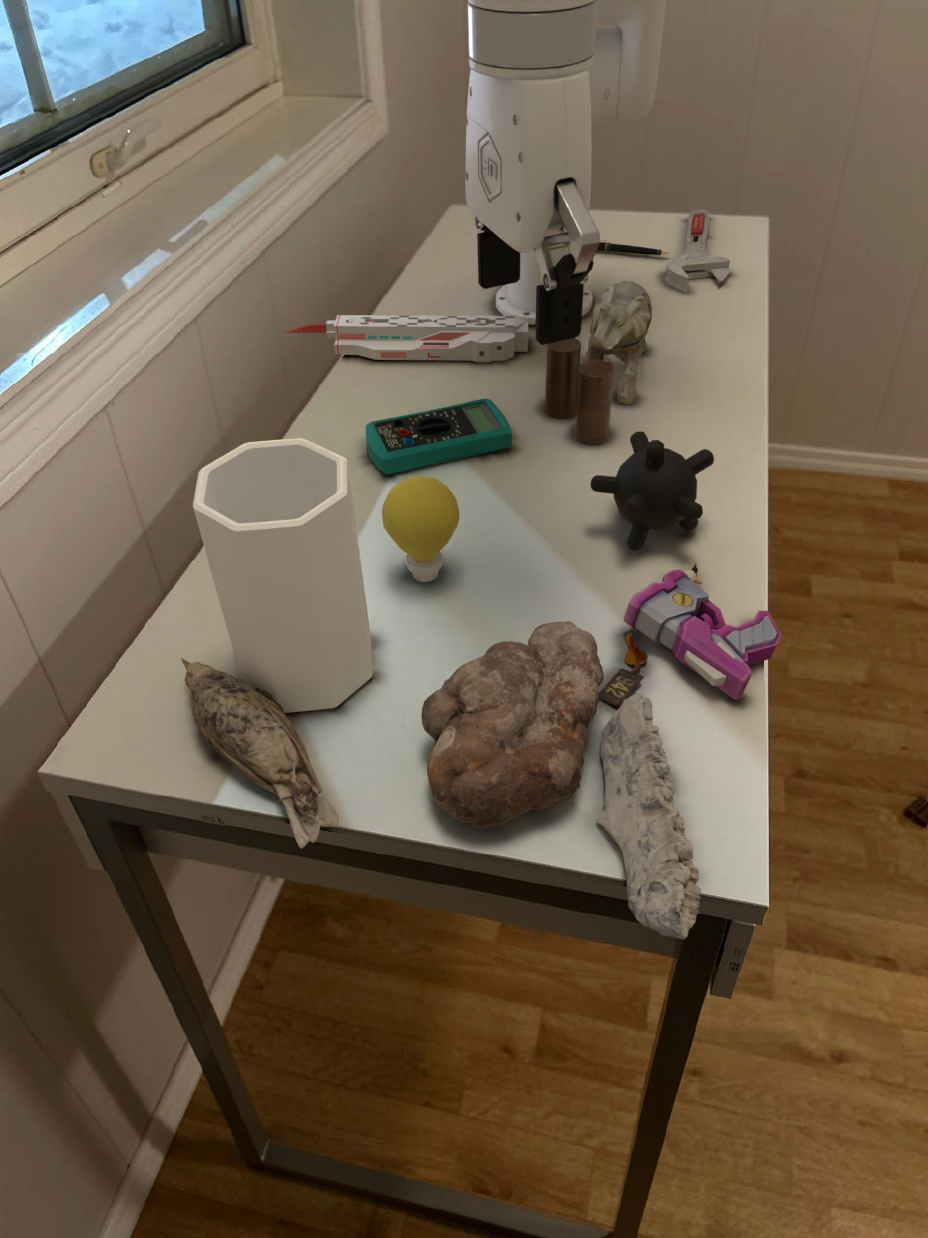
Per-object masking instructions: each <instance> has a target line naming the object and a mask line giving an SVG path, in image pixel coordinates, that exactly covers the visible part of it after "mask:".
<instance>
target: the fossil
mask: <svg viewBox="0 0 928 1238" xmlns="http://www.w3.org/2000/svg"><path fill="white" fill-rule="evenodd" d="M653 721H654V716H653V703H652V701H651V698H649V697H648V696H647V695H646V694H643V693H641V692H638V693H635V694H633V695H631V696H630V697H627V698H626V699H625V700H623V702H622V703H621V705H620V706H619V708H617V709H616V711H614V713H613V714H612V716H611V718H610V719H609V720H608V721H607V723H606V724H605V726H604V728H603V730H602V732H601V745H600V750H599V754H600V758H601V761H602V765H603V766H602V772H603V778H604V787H605V788H604V790H605V791H604V792H605V793H604V794H605V795H604V803H603V805H602V809H601V811H600V813H599V815H598V816H597V817H595V818H596V822H597V823H598V824H599V825H600V826H602V827H603V828H604V830H605V831H606V832H607V833H608V834H609V835H610V837H611V838H612V840H613V841H615V842H616V844H617V845H618V847H619V849H620V850H621V852H622V855H623V863H624V867H625V872H626V876H625V877H626V880H625V883H626V898H627V907H628V908H629V910H630V911H631V913H632V915H633V916H634V918H635V919H636V920H637V921H638V922H639V923H640V925H643V926H644V927H646V928H648V929H651V930H653V931H656V932H657V933H659V935H661V936H664V937H666V938H668V937H669V938H676V939H679V940H683V941H684V940H686V938H687V937H688V936H689V930H690V929H691V928H693V927H694V925H695V923H696V921H697V915H698V914H699V913H700V911H699V908H700V907H701V902H700V900H701V892H702V889H701V887H700V886H699V885H697V882H698V881H699V880H700V876H699V867H697V866H694V863H693V860H692V859H693V858H694V853H693V852H694V848H693V845H692V843H691V841H690V839H688V837H687V836H686V833H685V830H686V828H685V826H684V825H685V820H684V817H683V816H682V815H681V813H680V810H679V808H677V807H674V804H673V798H674V796H673V795H675V792H674V790H675V788H676V782H675V781H674V779H673V778H671V776H670V775H669V774H670V766H669V764H668V760H667V754H666V751H665V749H664V748H663V747H661V746H663V743H664V742H663V740H662V738H661V737H660V734H659V732H660V731H659V727H658V726H657V725H653Z"/></svg>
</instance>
